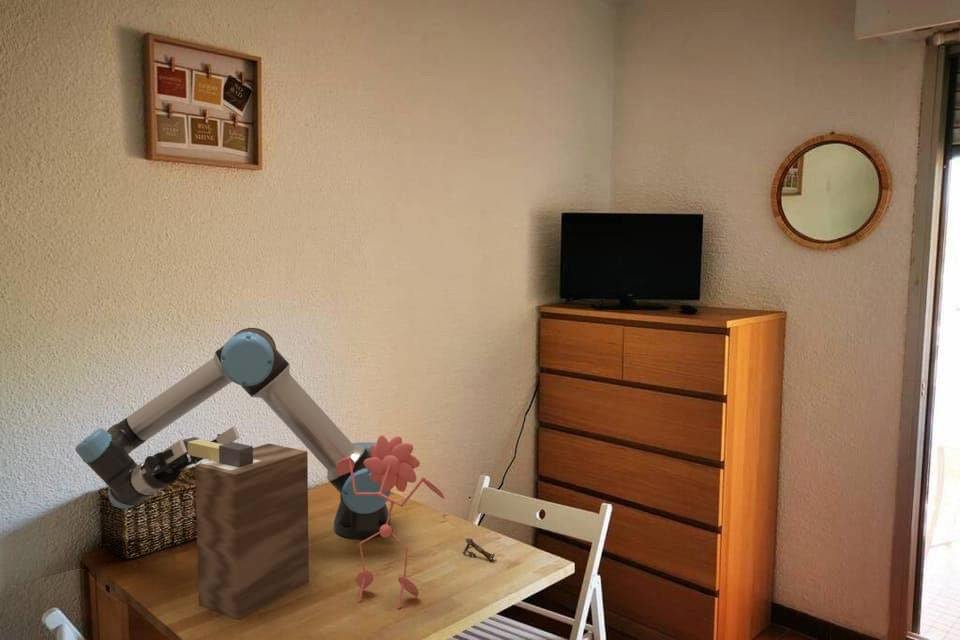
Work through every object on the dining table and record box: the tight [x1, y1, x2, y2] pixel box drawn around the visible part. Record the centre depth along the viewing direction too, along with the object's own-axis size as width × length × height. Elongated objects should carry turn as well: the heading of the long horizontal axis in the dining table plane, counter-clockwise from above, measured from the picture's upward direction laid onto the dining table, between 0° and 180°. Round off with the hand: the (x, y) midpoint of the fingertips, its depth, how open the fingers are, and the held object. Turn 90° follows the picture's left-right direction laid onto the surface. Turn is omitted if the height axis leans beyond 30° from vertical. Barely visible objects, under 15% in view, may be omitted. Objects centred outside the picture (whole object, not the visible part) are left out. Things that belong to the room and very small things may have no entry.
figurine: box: [336, 434, 445, 614], centre depth 160 cm, size 15×26×35 cm, turn 72°
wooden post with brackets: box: [462, 538, 496, 562], centre depth 179 cm, size 2×8×4 cm, turn 64°
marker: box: [182, 436, 254, 468], centre depth 155 cm, size 18×4×4 cm, turn 59°
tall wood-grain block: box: [194, 443, 310, 620], centre depth 158 cm, size 12×20×30 cm, turn 149°
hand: (210, 438), depth 155 cm, fingers open, 13 cm apart
